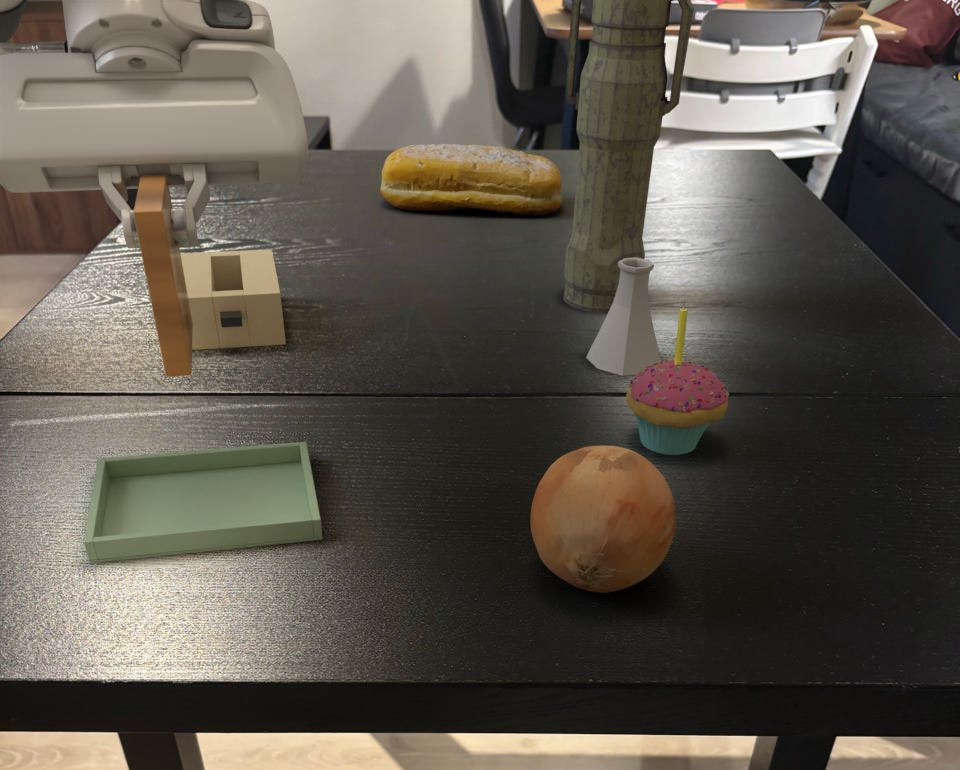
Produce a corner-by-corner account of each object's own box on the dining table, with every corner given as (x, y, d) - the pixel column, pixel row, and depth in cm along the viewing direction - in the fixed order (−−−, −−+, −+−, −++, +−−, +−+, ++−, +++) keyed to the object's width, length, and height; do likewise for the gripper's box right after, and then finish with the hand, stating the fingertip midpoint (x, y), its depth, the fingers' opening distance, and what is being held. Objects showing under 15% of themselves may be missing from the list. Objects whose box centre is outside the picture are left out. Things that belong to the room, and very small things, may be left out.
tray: (90, 566, 66) (83, 542, 64) (103, 480, 75) (97, 458, 73) (323, 542, 69) (320, 519, 67) (308, 463, 78) (306, 441, 76)
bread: (384, 193, 144) (382, 135, 139) (556, 197, 144) (560, 140, 139) (378, 218, 133) (376, 157, 128) (563, 222, 134) (568, 161, 129)
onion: (658, 543, 70) (679, 419, 63) (670, 625, 62) (696, 494, 56) (528, 535, 70) (536, 411, 64) (524, 617, 62) (533, 485, 56)
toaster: (186, 309, 104) (177, 253, 100) (278, 304, 106) (272, 249, 102) (185, 365, 92) (174, 304, 89) (287, 358, 94) (281, 298, 90)
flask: (621, 383, 92) (634, 280, 85) (573, 358, 96) (582, 258, 90) (674, 367, 95) (690, 266, 89) (625, 344, 99) (637, 246, 93)
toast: (169, 326, 67) (140, 173, 60) (192, 324, 67) (166, 172, 61) (166, 377, 60) (133, 211, 54) (191, 375, 60) (161, 210, 54)
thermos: (650, 319, 105) (706, -71, 83) (546, 310, 107) (573, -76, 84) (652, 293, 112) (705, -75, 90) (554, 285, 113) (582, -79, 91)
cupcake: (608, 425, 85) (625, 291, 77) (697, 419, 86) (722, 287, 78) (638, 471, 78) (659, 330, 70) (734, 465, 79) (765, 325, 72)
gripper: (-50, 6, 57) (-28, 222, 55) (292, 6, 60) (319, 209, 59) (-15, 78, 63) (6, 275, 62) (294, 75, 67) (318, 259, 65)
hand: (162, 242), depth 60 cm, fingers closed on toast, 1 cm apart
